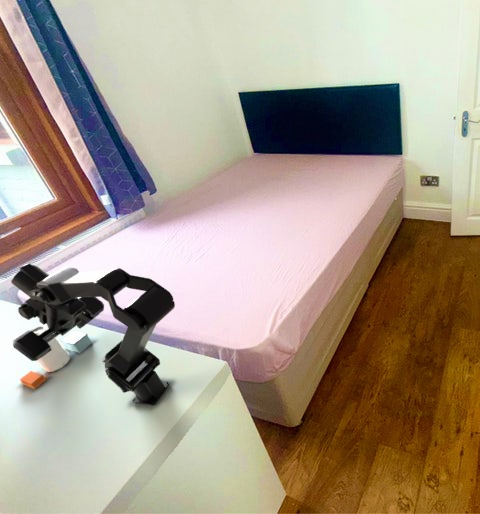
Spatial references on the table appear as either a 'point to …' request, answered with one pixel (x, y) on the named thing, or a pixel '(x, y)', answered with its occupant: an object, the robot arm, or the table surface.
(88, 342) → the box
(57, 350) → the can
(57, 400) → the table surface
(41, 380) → the orange rectangular block
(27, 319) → the robot arm
